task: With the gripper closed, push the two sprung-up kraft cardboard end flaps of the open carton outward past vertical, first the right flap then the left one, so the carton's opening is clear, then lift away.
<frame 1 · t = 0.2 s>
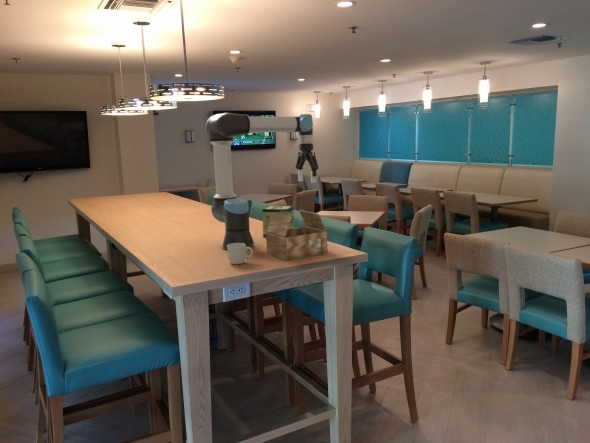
hand: (307, 181, 265), 28 cm above the table, fingers open, 13 cm apart
flap left: (279, 224, 211), point 14 cm above the table, hinge at -25.0°
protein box: (279, 236, 260), on the table
cup: (240, 263, 203), on the table
flap right: (312, 220, 219), point 14 cm above the table, hinge at -25.0°
carton: (296, 253, 217), on the table
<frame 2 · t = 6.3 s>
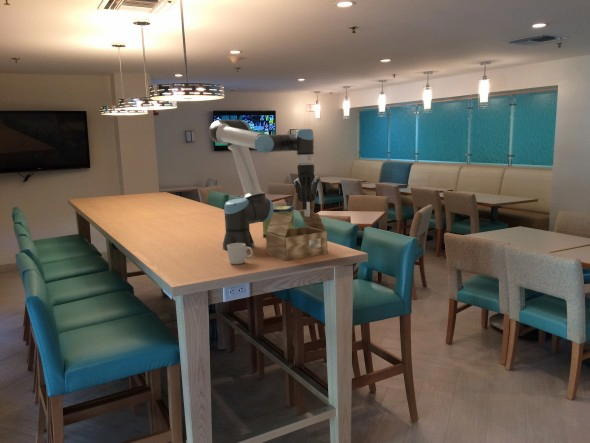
hand: (307, 216, 217), 17 cm above the table, fingers closed
flap right: (312, 220, 219), point 14 cm above the table, hinge at -25.0°, touching gripper
everything else where it was.
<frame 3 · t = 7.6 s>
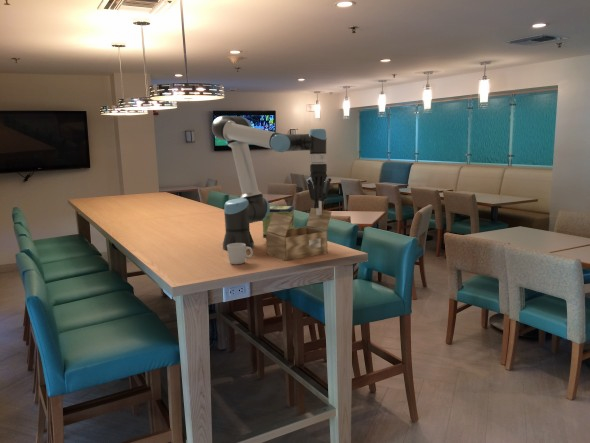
hand: (318, 214, 220), 17 cm above the table, fingers closed
flap right: (318, 218, 221), point 15 cm above the table, hinge at 19.2°, touching gripper
everything else where it was.
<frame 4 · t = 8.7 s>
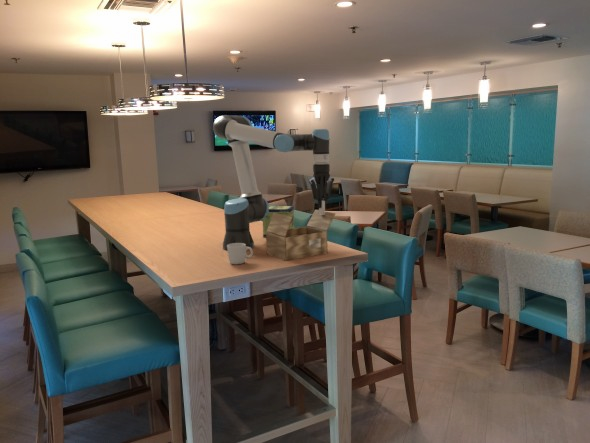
hand: (322, 214, 222), 16 cm above the table, fingers closed
flap right: (320, 219, 222), point 14 cm above the table, hinge at 34.5°, touching gripper
everything else where it was.
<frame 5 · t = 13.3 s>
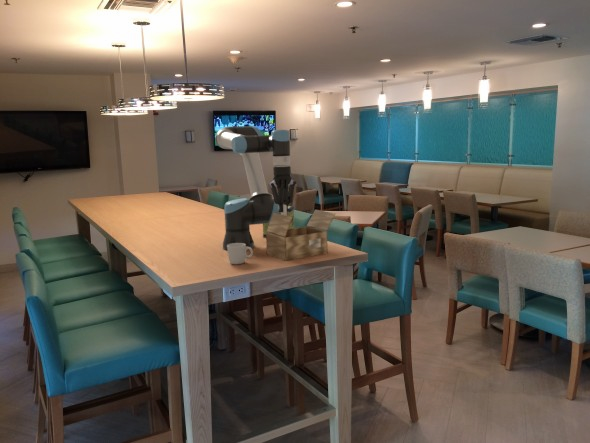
hand: (284, 219, 212), 16 cm above the table, fingers closed
flap left: (279, 224, 211), point 14 cm above the table, hinge at -24.8°, touching gripper
flap right: (320, 219, 222), point 14 cm above the table, hinge at 34.6°
everything else where it was.
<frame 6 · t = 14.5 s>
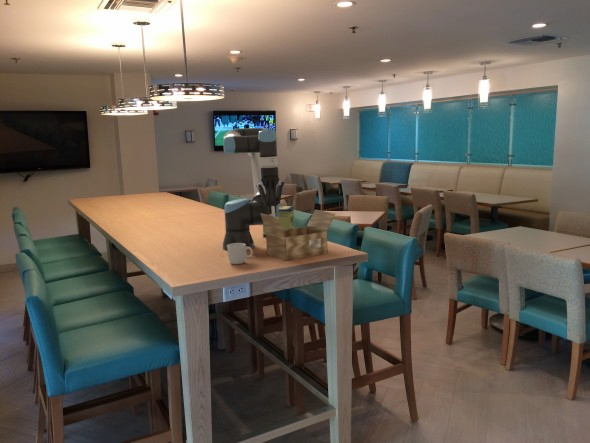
hand: (272, 220, 209), 16 cm above the table, fingers closed
flap left: (272, 224, 209), point 15 cm above the table, hinge at 17.4°, touching gripper
everything else where it was.
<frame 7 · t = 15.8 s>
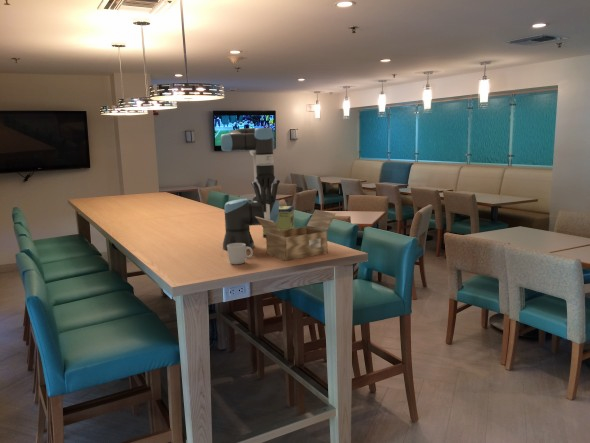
hand: (267, 219, 207), 17 cm above the table, fingers closed
flap left: (269, 226, 208), point 14 cm above the table, hinge at 34.7°
everything else where it was.
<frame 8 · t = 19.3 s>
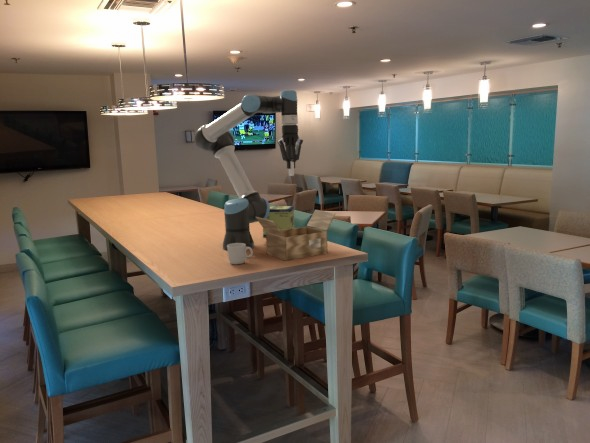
hand: (291, 175, 226), 34 cm above the table, fingers closed
nothing on the table moved.
at the end: flap right at +35° (first picture: -25°); flap left at +35° (first picture: -25°) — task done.
